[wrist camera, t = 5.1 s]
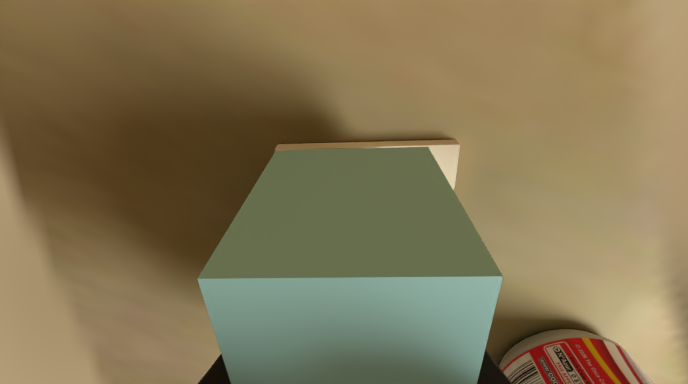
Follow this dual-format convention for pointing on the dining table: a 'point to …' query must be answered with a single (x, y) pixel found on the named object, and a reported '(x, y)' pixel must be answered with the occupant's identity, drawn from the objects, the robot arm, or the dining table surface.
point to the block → (351, 274)
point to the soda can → (570, 360)
